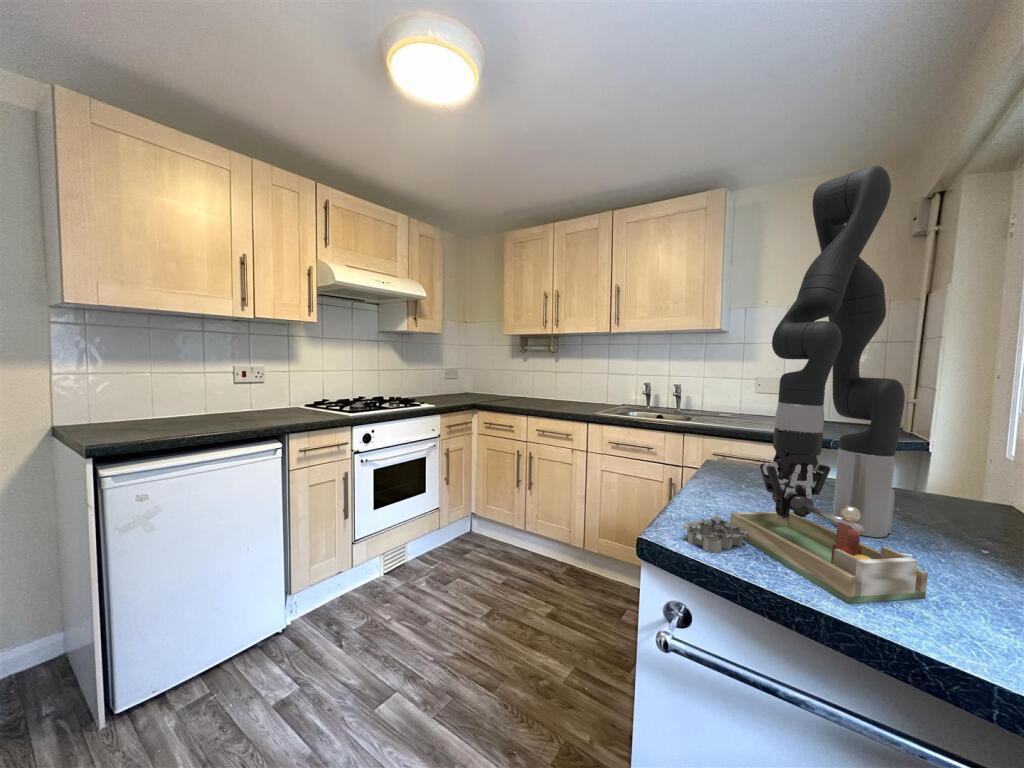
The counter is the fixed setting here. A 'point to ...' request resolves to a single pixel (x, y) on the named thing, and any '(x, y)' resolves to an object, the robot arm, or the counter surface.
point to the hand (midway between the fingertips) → (791, 515)
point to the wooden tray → (848, 575)
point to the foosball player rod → (846, 527)
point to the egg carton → (714, 534)
